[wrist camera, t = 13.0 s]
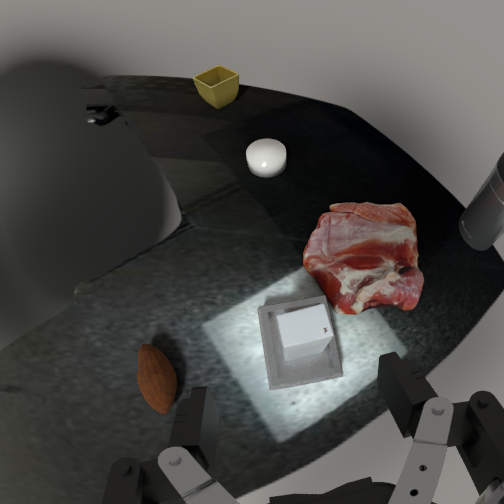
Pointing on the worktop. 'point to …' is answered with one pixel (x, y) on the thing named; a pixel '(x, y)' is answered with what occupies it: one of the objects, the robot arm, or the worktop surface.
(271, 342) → the tray
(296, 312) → the skincare box
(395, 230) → the meat
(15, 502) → the worktop surface
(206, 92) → the flower pot
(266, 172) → the white domed puck
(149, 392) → the potato
